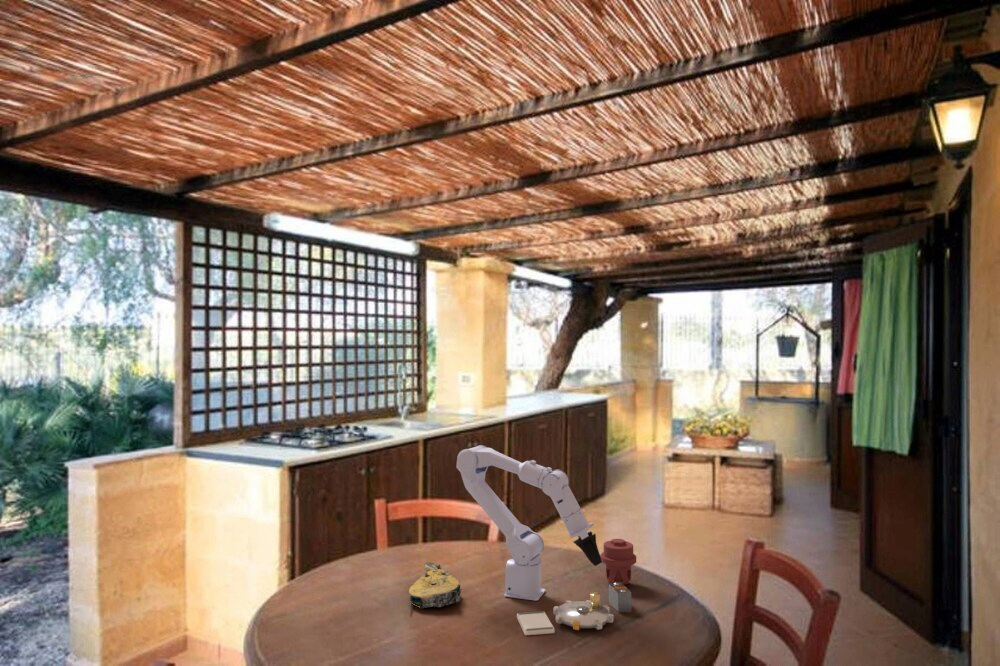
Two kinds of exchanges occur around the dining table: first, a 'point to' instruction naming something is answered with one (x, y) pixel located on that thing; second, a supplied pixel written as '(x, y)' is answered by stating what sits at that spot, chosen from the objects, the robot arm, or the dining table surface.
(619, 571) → the mechanical component
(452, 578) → the tan irregular slab
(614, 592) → the striped block with rivets
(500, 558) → the dining table surface
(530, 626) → the guide plate
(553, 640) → the dining table surface
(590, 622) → the sprocket wheel
